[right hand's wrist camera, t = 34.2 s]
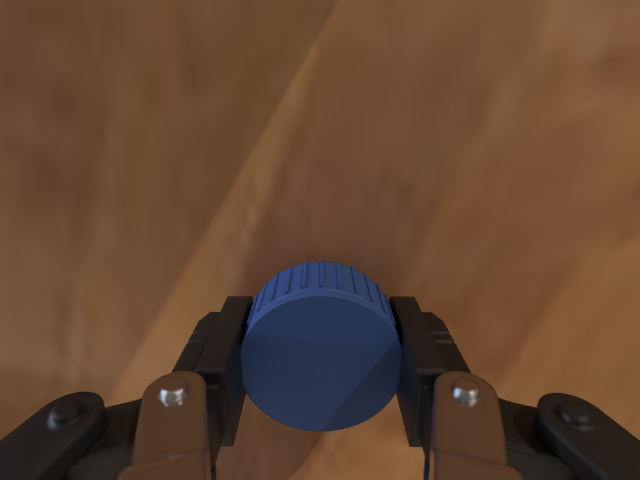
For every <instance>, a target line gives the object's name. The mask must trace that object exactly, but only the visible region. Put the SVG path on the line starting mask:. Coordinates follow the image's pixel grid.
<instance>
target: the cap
mask: <svg viewBox="0 0 640 480" xmlns="http://www.w3.org/2000/svg"><path fill="white" fill-rule="evenodd" d="M240 354H241V365H242V377H243V387H244V389H245V391H246V393H247V394H248V396H249V397H250V399H251V400H252V401H253V403H254V404H255V405H256V406H257V407H258V408H259V409H260V410H261V411H263V412H264V413H265V414H267V415H268V416H270V417H271V418H273V419H275V420H276V421H278V422H280V423H283V424H285V425H288V426H290V427H294V428H297V429H302V430H308V431H333V430H340V429H345V428H349V427H352V426H355V425H357V424H360V423H362V422H364V421H366V420H368V419H369V418H371V417H373V416H374V415H376V414H377V413H378V412H380V411H381V410H382V409H383V408H384V407H385V406H386V405H387V404H388V403H389V402H390V401H391V399H392V398H393V397H394V395H395V393H396V392H397V390H398V388H399V378H400V367H401V356H402V345H401V342H400V339H399V334H398V331H397V328H396V323H395V320H394V317H393V314H392V311H391V308H390V305H389V302H388V299H387V296H386V294H385V295H383V293H382V291H381V290H380V288H379V285H378V284H377V283H376V284H375V283H374V282H373V281H372V280H371V279H369V278H368V275H367V274H365V275H364V274H362V273H361V272H359V271H357V270H355V269H354V267H348V266H345V265H341V264H339V262H336V263H331V262H323V261H320V262H311V263H307V262H304V264H301V265H297V266H294V267H292V266H290V267H289V269H287V270H285V271H283V272H281V273H279V274H278V273H277V274H275V277H274V278H273V279H271V280H270V281H269V282H268V283H265V284H264V287H263V289H262V290H261V292H260V293H259V294H256V296H255V300H254V303H253V306H252V308H251V311H250V315H249V318H248V321H247V324H246V327H245V330H244V333H243V340H242V343H241V346H240Z"/></svg>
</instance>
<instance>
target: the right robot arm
mask: <svg viewBox="0 0 640 480" xmlns="http://www.w3.org/2000/svg"><path fill="white" fill-rule="evenodd" d="M389 305H390V308H391V311H392V314H393V317H394V320H395V323H396V328H397V331H398V334H399V339H400V342H401V345H402V356H401V367H400V378H399V388H398V390H397V392H396V395H397V399H398V403H399V407H400V411H401V415H402V419H403V423H404V427H405V431H406V435H407V439H408V443H409V447H423V451H424V454H425V460H424V468H423V480H640V441H639V440H638V439H637V438H636V437H634V436H633V435H632V434H630V433H629V432H628V431H627V430H625V429H624V428H623V427H621V426H620V425H619V424H618V423H616V422H615V421H614V420H612V419H611V418H610V417H609V416H607V415H606V414H605V413H603V412H602V411H601V410H600V409H598V408H597V407H595V406H594V405H592V404H591V403H589V402H587V401H585V400H583V399H581V398H578V397H576V396H572V395H569V394H564V393H550V394H546V395H544V396H542V397H541V398H540V399H539V402H538V405H537V408H535V407H530V406H526V405H522V404H518V403H513V402H509V401H506V400H503V399H501V398H498V396H497V393H496V392H495V390H494V388H493V387H492V386H491V385H490V384H489V383H488V382H486V381H485V380H484V379H482V378H480V377H478V376H476V375H474V374H471V372H470V370H469V368H468V366H467V364H466V362H465V361H464V359H463V357H462V355H461V353H460V351H459V349H458V348H457V346H456V344H454V340H453V338H452V336H451V335H449V331H448V329H447V327H446V325H445V324H444V322H443V321H442V320H441V319H440V318H438V317H437V316H436V315H434V314H433V313H432V312H421V310H420V308H419V306H418V304H417V301H416V299H415V297H390V298H389ZM252 306H253V298H252V297H251V296H228V297H227V299H226V301H225V304H224V306H223V308H222V310H221V312H210V313H209V314H207V315H206V316H205V317H203V318H202V319H201V320H200V321H199V322H198V324H197V325H196V327H195V329H194V331H193V334H192V335H191V337H190V339H189V341H188V343H187V344H186V346H185V348H184V350H183V352H182V354H181V356H180V357H179V359H178V361H177V363H176V365H175V367H174V369H173V371H172V373H169V374H166V375H164V376H162V377H160V378H158V379H156V380H155V381H154V382H152V383H151V384H150V385H149V386H148V387H147V388H146V390H145V392H144V393H143V396H142V398H141V399H138V400H135V401H131V402H127V403H123V404H119V405H114V406H110V407H106V408H105V406H104V402H103V399H102V398H101V396H99V395H98V394H96V393H92V392H77V393H72V394H69V395H66V396H63V397H60V398H58V399H56V400H54V401H52V402H51V403H49V404H47V405H46V406H44V407H43V408H42V409H40V410H39V411H38V412H37V413H35V414H34V415H33V416H31V417H30V418H29V419H28V420H26V421H25V422H24V423H22V424H21V425H20V426H19V427H17V428H16V429H15V430H13V431H12V432H11V433H10V434H8V435H7V436H6V437H4V438H3V439H2V440H1V441H0V480H217V468H216V460H217V457H218V453H219V449H220V446H233V444H234V440H235V436H236V432H237V428H238V424H239V420H240V416H241V412H242V407H243V403H244V399H245V395H246V391H245V389H244V387H243V377H242V365H241V354H240V346H241V343H242V340H243V333H244V330H245V327H246V324H247V321H248V318H249V315H250V311H251V308H252Z"/></svg>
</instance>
